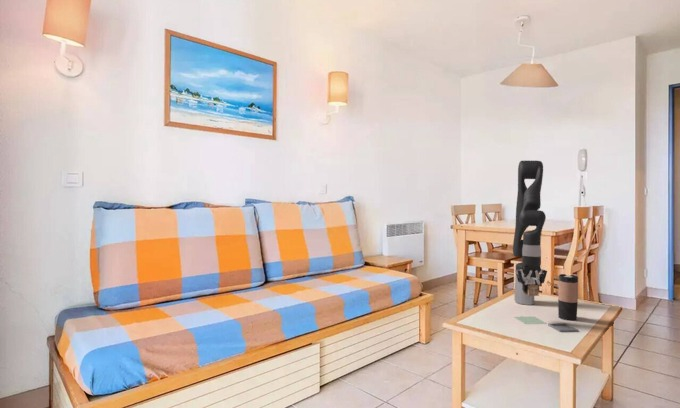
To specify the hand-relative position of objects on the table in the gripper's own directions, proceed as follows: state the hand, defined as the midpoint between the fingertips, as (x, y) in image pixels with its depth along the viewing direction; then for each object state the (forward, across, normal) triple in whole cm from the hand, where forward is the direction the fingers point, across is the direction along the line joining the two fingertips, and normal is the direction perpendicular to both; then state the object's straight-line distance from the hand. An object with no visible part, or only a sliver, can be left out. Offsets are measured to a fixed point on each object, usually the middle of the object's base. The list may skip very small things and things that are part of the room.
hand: (530, 292), depth 172 cm
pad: (+13, 0, 0) cm, 13 cm away
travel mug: (+13, -19, -2) cm, 23 cm away
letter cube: (+1, 0, 0) cm, 1 cm away
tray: (+13, -8, +11) cm, 19 cm away
